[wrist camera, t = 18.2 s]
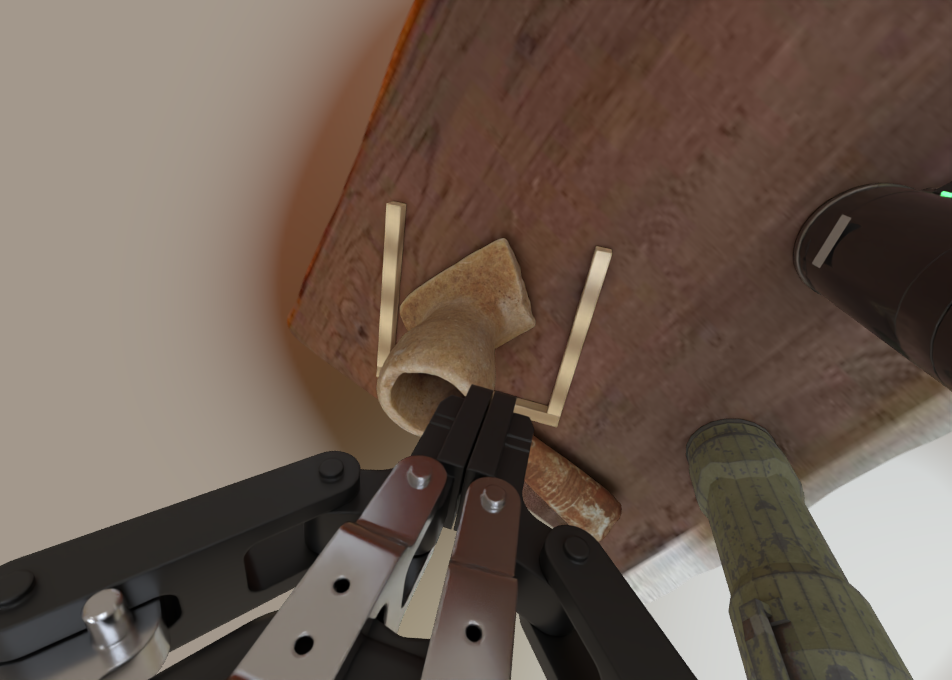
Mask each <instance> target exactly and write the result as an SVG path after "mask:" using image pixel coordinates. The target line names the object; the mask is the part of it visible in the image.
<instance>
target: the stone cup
mask: <svg viewBox="0 0 952 680" xmlns="http://www.w3.org/2000/svg"><path fill="white" fill-rule="evenodd" d="M400 316H401V318H402V321H403V323H404V325H405V328H406V330H407V333H405V334H404V335H403V336H402V337H401V338H400V340H399V341H398V343H397V344H396V345H395V347H394V348H393V349H392V350H391V352H390V353H389V355H388V357H387V359H386V360H385V362H384V364H383V366H382V368H381V370H380V373H379V377H378V380H377V387H376V389H377V395H378V400H379V402H380V404H381V407H382V409H383V410H384V411H385V412H386V414H387V415H388V416H389V418H390V419H391V420H392V421H394V422H395V423H396V424H397V425H399V426H400V427H401V428H403V429H404V430H406V431H408V432H410V433H412V434H415V435H417V436H422V434H423V433H424V431H425V429H426V427H427V425H428V424H429V422H430V420H431V418H432V416H433V415H434V413H435V411H436V409H437V407H438V405H439V403H440V402H441V401H443V400H444V399H446V398H447V397H449V396H450V395H454V396H458V397H461V398H465V397H466V395H467V393H468V390H469V388H470V386H471V384H473V385H477V386H481V387H484V388H488V389H491V390H494V388H495V380H496V370H495V349H496V348H497V347H499V346H501V345H503V344H504V343H506V342H508V341H510V340H511V339H513V338H515V337H516V336H518V335H520V334H522V333H524V332H526V331H528V330H530V329H531V328H533V327H534V326H535V323H536V321H535V318H534V316H533V315H532V311H531V303H530V300H529V298H528V294H527V291H526V288H525V284H524V281H523V280H522V278H521V269H520V266H519V264H518V262H517V260H516V257H515V254H514V252H513V251H512V249H511V247H510V245H509V243H508V241H507V240H506V239H505V238H502V239H498V240H496V241H494V242H492V243H490V244H489V245H487V246H485V247H483V248H482V249H480V250H477V251H476V252H474V253H472V254H470V255H469V256H467V257H465V258H464V259H462V260H461V261H459V262H458V263H456V264H455V265H453V266H451V267H449V268H448V269H446V270H444V271H443V272H441V273H440V274H438V275H436V276H435V277H433V278H432V279H430V280H429V281H427V282H426V283H425V284H423V285H422V286H420V287H419V288H417V289H416V290H414V291H413V292H412V293H411V294H409V295H408V296H407V298H406V299H405V300H404V302H403V303H402V304H401V306H400Z"/></svg>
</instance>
